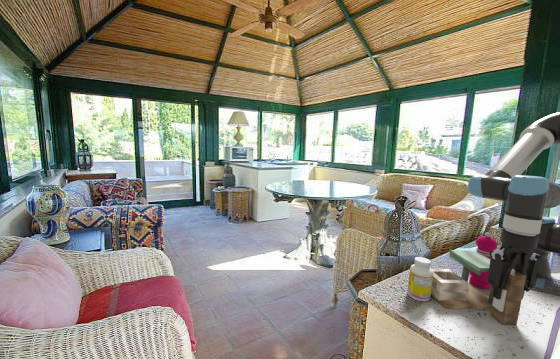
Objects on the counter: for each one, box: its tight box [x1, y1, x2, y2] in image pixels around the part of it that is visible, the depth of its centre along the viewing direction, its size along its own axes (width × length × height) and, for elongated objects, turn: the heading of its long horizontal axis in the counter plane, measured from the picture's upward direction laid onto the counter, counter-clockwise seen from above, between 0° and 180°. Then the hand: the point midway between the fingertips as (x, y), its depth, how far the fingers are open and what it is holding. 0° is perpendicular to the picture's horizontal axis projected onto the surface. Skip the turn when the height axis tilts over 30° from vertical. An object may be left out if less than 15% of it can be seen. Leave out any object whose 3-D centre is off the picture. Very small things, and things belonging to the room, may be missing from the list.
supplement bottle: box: [407, 256, 433, 302], centre depth 83 cm, size 7×7×13 cm
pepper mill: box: [468, 232, 498, 290], centre depth 91 cm, size 7×7×20 cm
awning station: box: [430, 249, 494, 310], centre depth 84 cm, size 19×14×13 cm
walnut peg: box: [490, 269, 526, 326], centre depth 72 cm, size 4×4×15 cm
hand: (505, 308), depth 73 cm, fingers open, 4 cm apart
